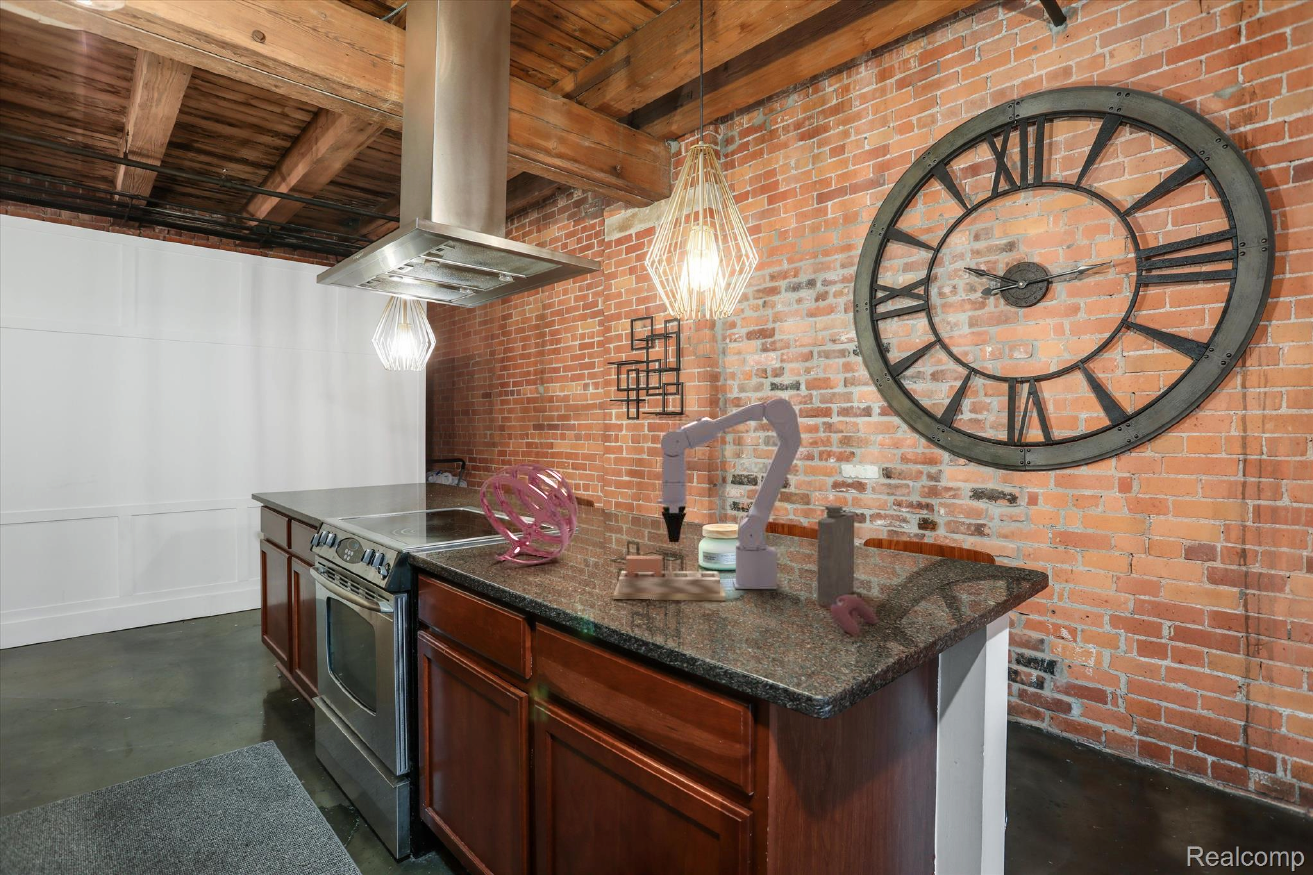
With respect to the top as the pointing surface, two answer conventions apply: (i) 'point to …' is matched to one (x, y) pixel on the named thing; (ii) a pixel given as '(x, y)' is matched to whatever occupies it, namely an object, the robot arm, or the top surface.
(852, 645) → the top surface
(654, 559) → the clip
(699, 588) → the cream wooden flat frame
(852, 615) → the video game controller
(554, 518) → the spiral basket
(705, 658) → the top surface
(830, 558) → the hip flask
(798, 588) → the top surface
